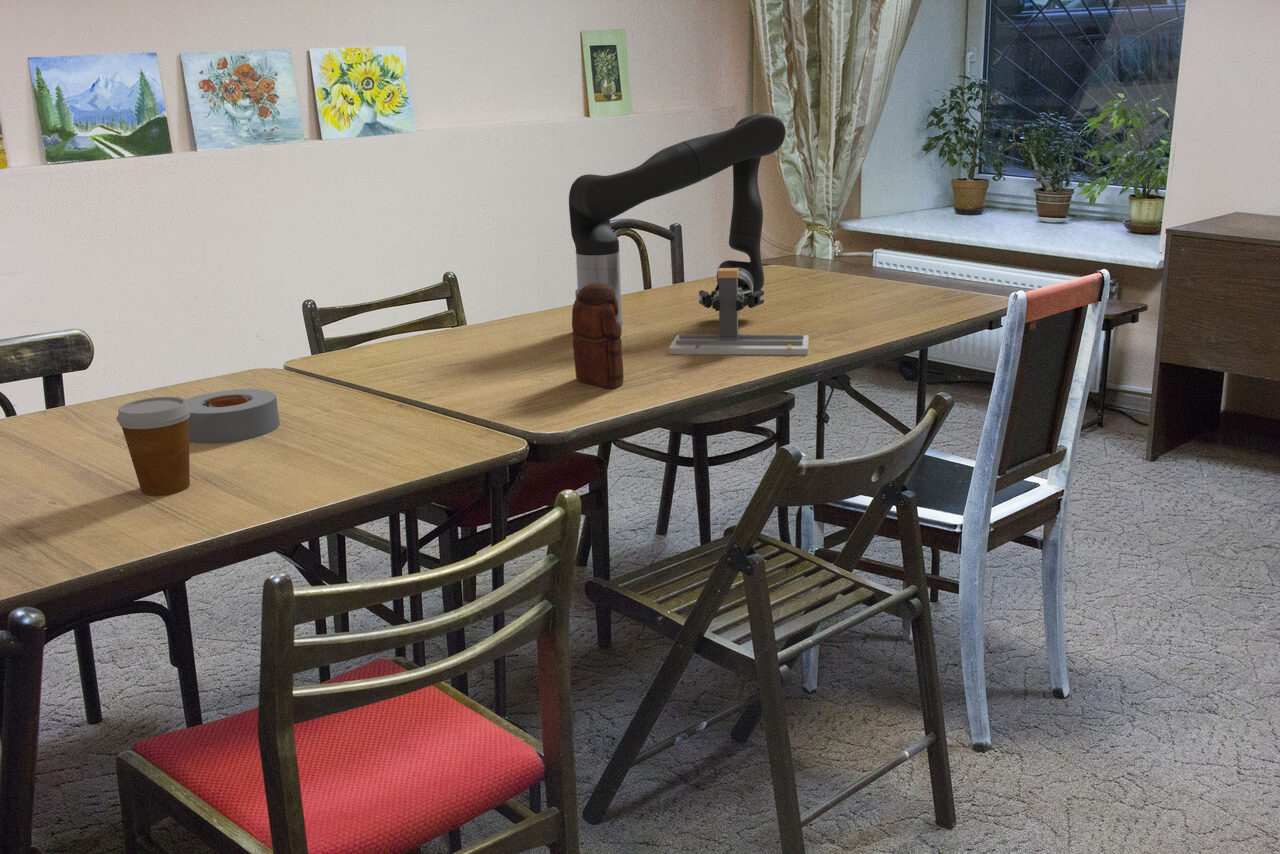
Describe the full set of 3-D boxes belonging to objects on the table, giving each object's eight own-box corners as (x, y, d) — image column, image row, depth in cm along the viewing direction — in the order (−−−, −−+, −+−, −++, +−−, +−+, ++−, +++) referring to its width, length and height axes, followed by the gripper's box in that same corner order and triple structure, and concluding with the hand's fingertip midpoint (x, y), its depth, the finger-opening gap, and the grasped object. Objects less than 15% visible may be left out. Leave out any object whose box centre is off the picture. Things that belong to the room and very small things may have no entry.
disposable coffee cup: (113, 496, 159) (98, 411, 156) (163, 474, 168) (150, 393, 164) (168, 503, 156) (154, 416, 152) (217, 480, 164) (205, 398, 161)
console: (668, 354, 229) (668, 344, 229) (677, 340, 241) (676, 330, 241) (807, 355, 225) (807, 345, 224) (808, 340, 237) (808, 331, 237)
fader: (718, 342, 232) (717, 271, 227) (719, 337, 235) (719, 267, 231) (738, 342, 231) (737, 271, 227) (739, 338, 235) (739, 267, 231)
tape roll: (180, 424, 193) (175, 394, 192) (276, 412, 198) (272, 383, 197) (181, 449, 179) (176, 418, 178) (283, 436, 185) (279, 405, 183)
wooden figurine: (636, 384, 208) (632, 284, 203) (609, 391, 204) (605, 289, 199) (593, 373, 217) (588, 277, 211) (566, 380, 213) (561, 282, 207)
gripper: (700, 272, 245) (691, 287, 228) (768, 272, 242) (763, 286, 226) (701, 307, 247) (691, 324, 230) (768, 307, 244) (763, 324, 228)
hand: (727, 305), depth 228 cm, fingers closed on fader, 3 cm apart
